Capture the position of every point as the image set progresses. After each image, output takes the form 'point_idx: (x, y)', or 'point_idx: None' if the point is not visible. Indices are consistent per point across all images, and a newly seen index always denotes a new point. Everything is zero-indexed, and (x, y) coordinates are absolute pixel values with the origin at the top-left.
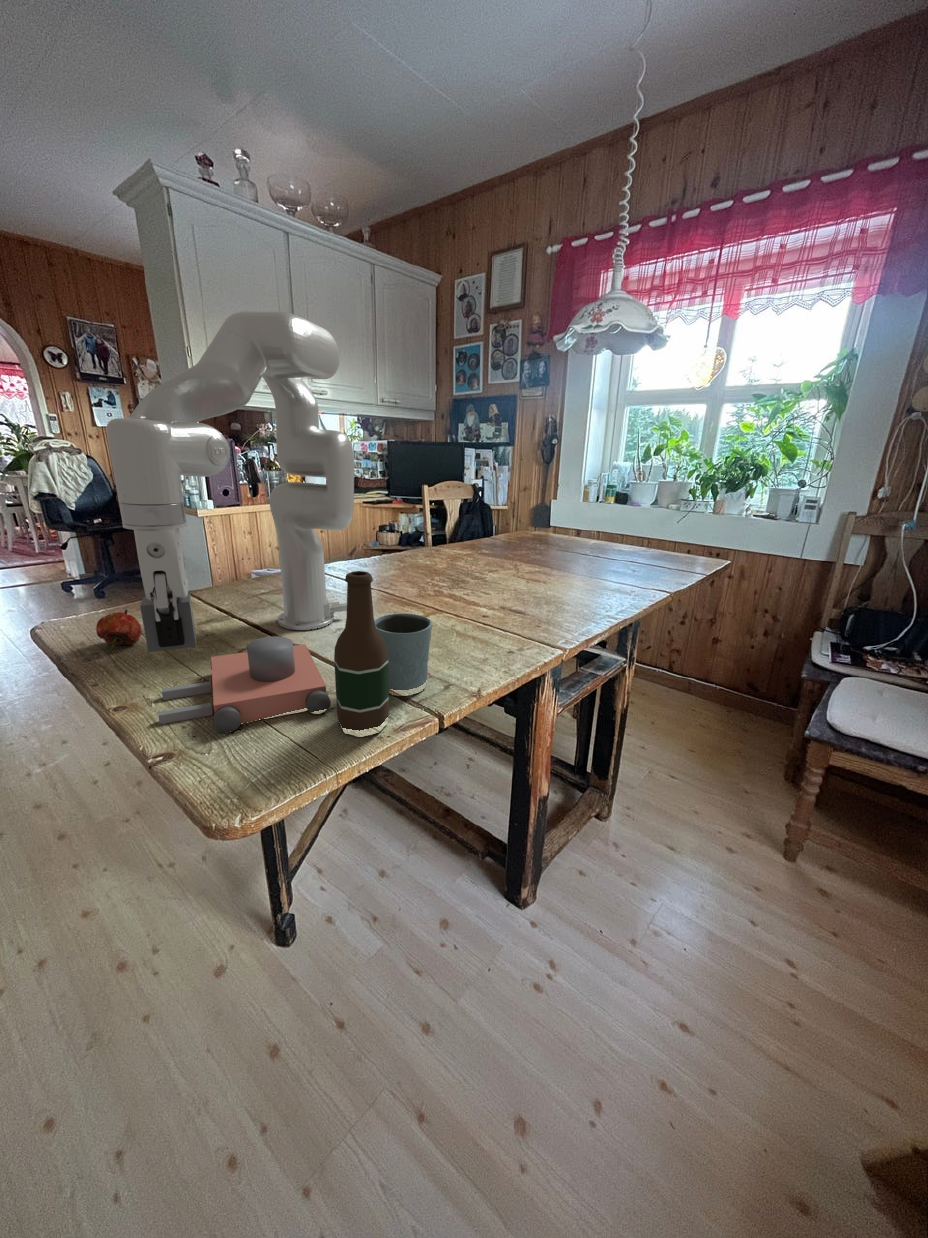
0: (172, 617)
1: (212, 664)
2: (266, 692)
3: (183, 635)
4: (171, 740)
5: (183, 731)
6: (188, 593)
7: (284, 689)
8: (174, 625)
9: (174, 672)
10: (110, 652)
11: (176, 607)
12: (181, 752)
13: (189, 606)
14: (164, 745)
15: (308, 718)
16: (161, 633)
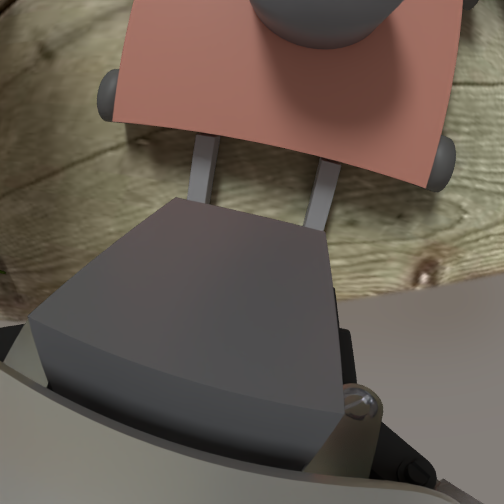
0: (388, 431)
1: (164, 124)
2: (436, 57)
3: (336, 308)
4: (384, 252)
5: (367, 228)
6: (42, 332)
7: (441, 17)
8: (355, 382)
9: (85, 192)
10: (3, 271)
11: (370, 457)
12: (433, 247)
13: (342, 384)
14: (392, 265)
15: (462, 17)
16: None
